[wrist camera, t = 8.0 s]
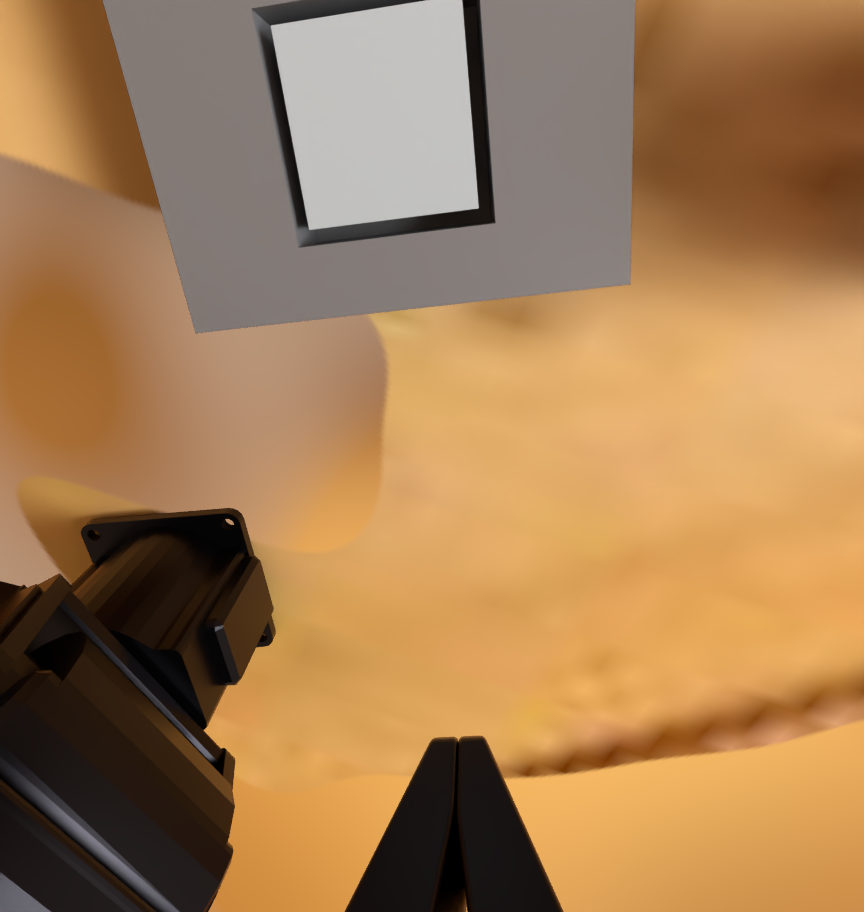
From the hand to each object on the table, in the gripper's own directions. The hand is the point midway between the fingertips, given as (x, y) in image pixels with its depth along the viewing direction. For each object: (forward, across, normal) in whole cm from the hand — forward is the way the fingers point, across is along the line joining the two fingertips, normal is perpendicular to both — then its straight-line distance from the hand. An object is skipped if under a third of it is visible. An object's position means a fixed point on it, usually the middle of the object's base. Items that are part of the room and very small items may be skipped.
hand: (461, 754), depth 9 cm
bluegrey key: (+12, +1, -10) cm, 16 cm away
